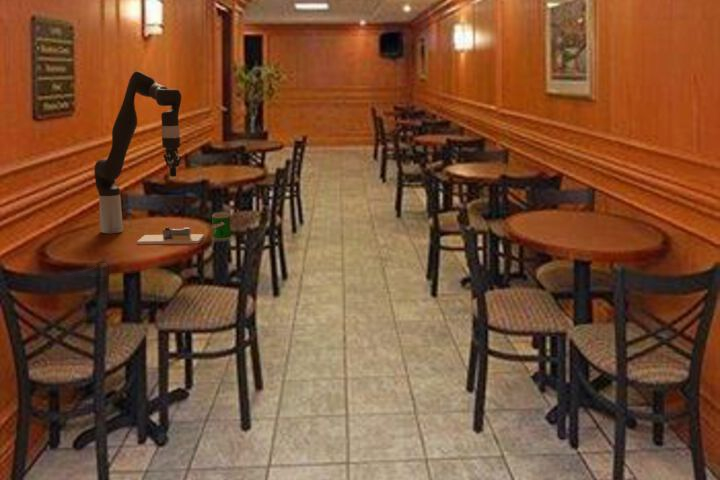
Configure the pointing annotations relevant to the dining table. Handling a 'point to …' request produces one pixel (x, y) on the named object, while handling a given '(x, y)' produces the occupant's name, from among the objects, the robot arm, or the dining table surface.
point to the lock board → (171, 239)
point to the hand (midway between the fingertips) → (173, 176)
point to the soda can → (221, 226)
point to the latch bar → (175, 232)
